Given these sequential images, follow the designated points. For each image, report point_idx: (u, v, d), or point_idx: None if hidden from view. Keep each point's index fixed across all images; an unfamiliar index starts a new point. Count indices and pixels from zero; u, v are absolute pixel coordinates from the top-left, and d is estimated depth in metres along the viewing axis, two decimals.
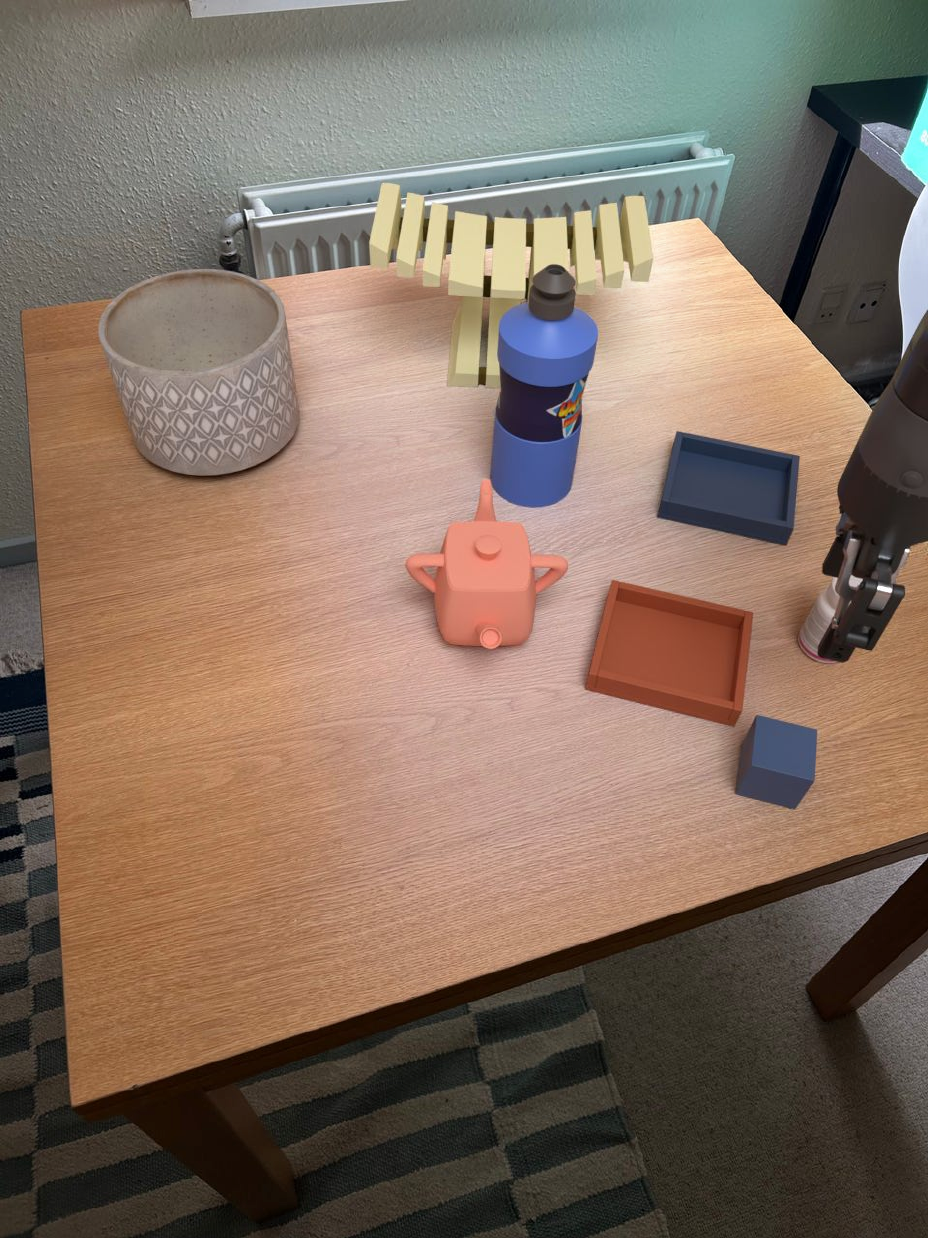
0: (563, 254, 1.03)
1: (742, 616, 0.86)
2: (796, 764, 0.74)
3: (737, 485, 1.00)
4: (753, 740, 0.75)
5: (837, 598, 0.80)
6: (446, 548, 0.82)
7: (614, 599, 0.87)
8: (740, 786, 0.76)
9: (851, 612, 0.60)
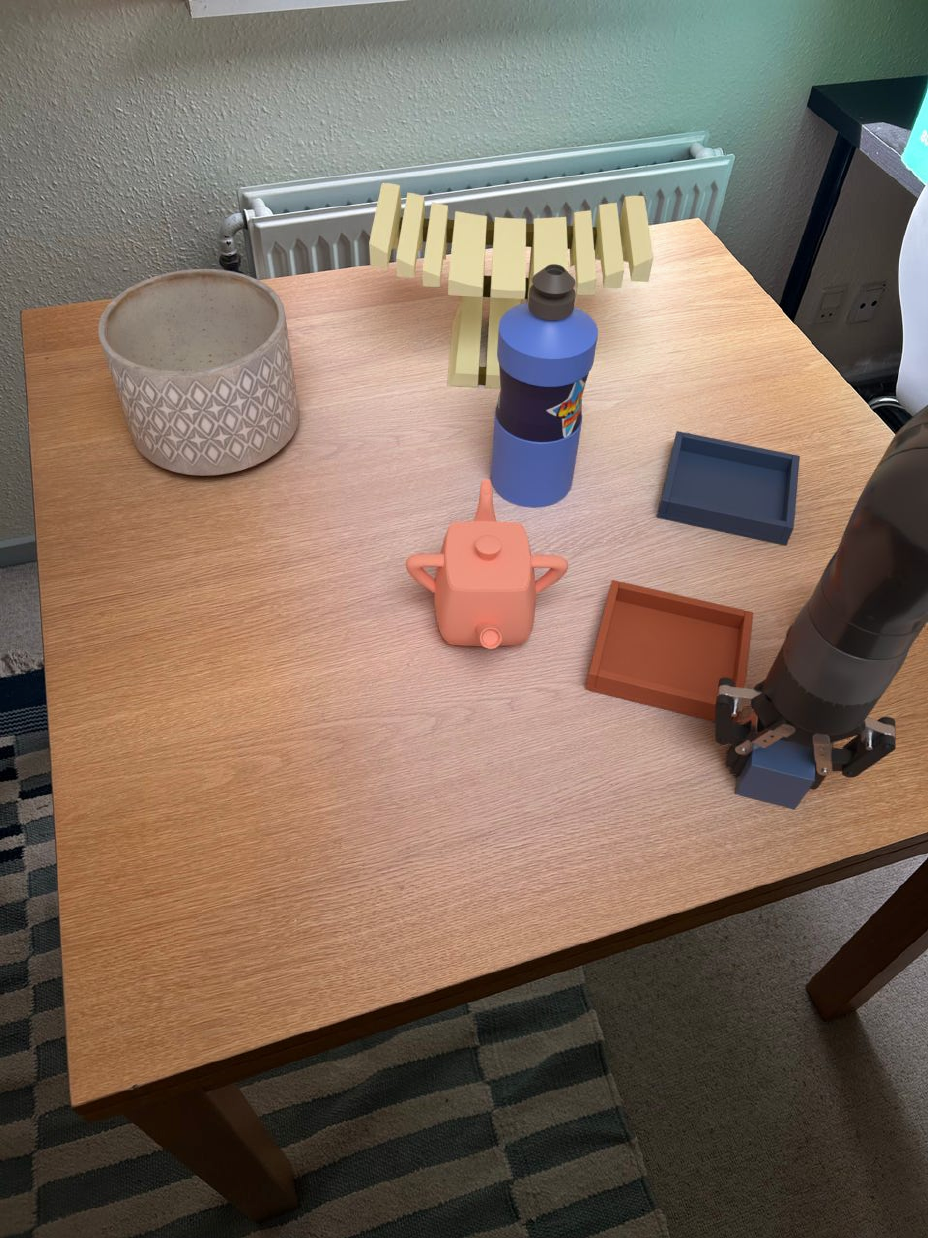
0: (563, 254, 1.03)
1: (742, 616, 0.86)
2: (796, 764, 0.74)
3: (737, 485, 1.00)
4: None
5: None
6: (446, 548, 0.82)
7: (614, 599, 0.87)
8: (740, 786, 0.76)
9: None
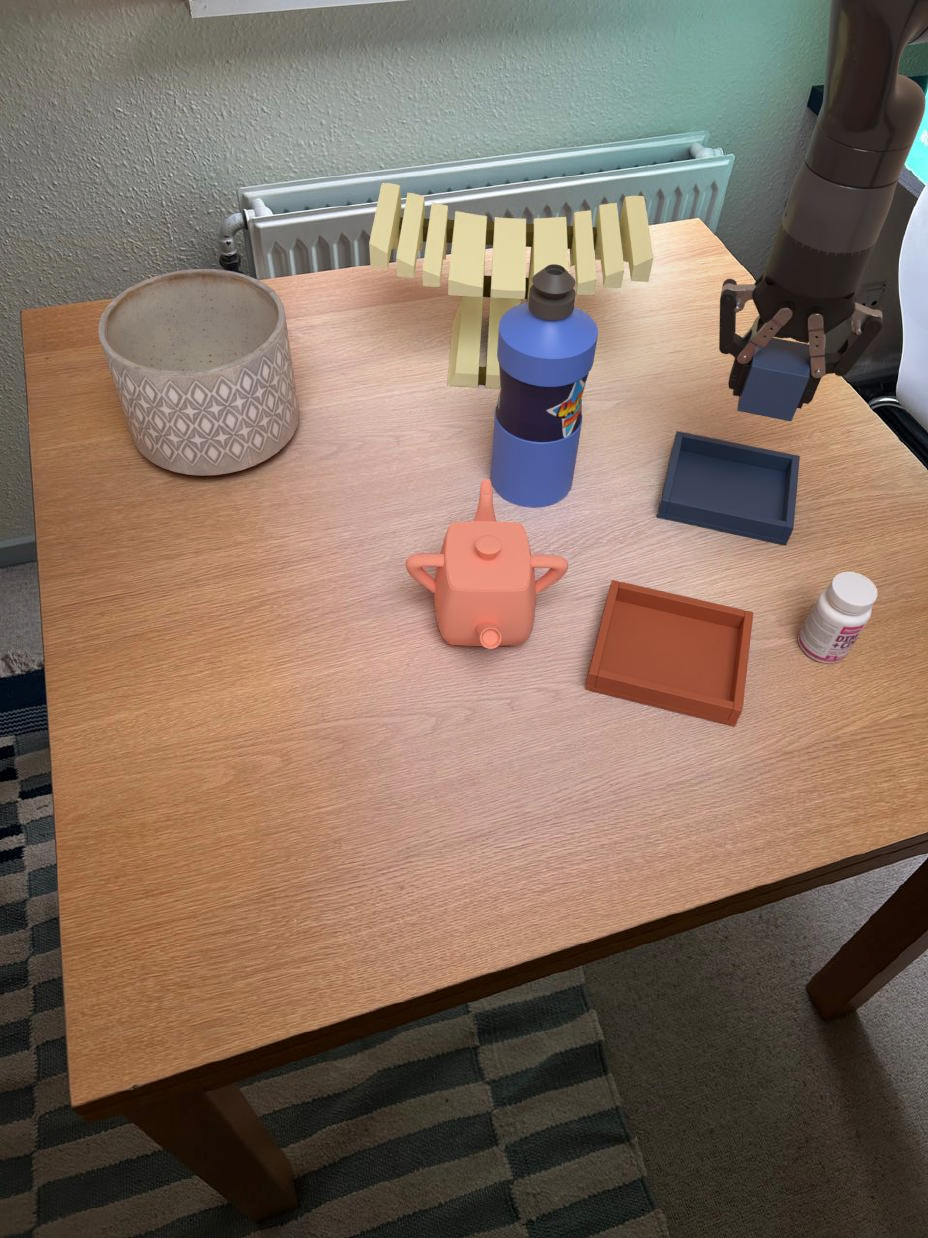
0: (563, 254, 1.03)
1: (742, 616, 0.86)
2: (792, 366, 0.81)
3: (737, 485, 1.00)
4: None
5: (837, 598, 0.80)
6: (446, 548, 0.82)
7: (614, 599, 0.87)
8: (741, 399, 0.84)
9: None
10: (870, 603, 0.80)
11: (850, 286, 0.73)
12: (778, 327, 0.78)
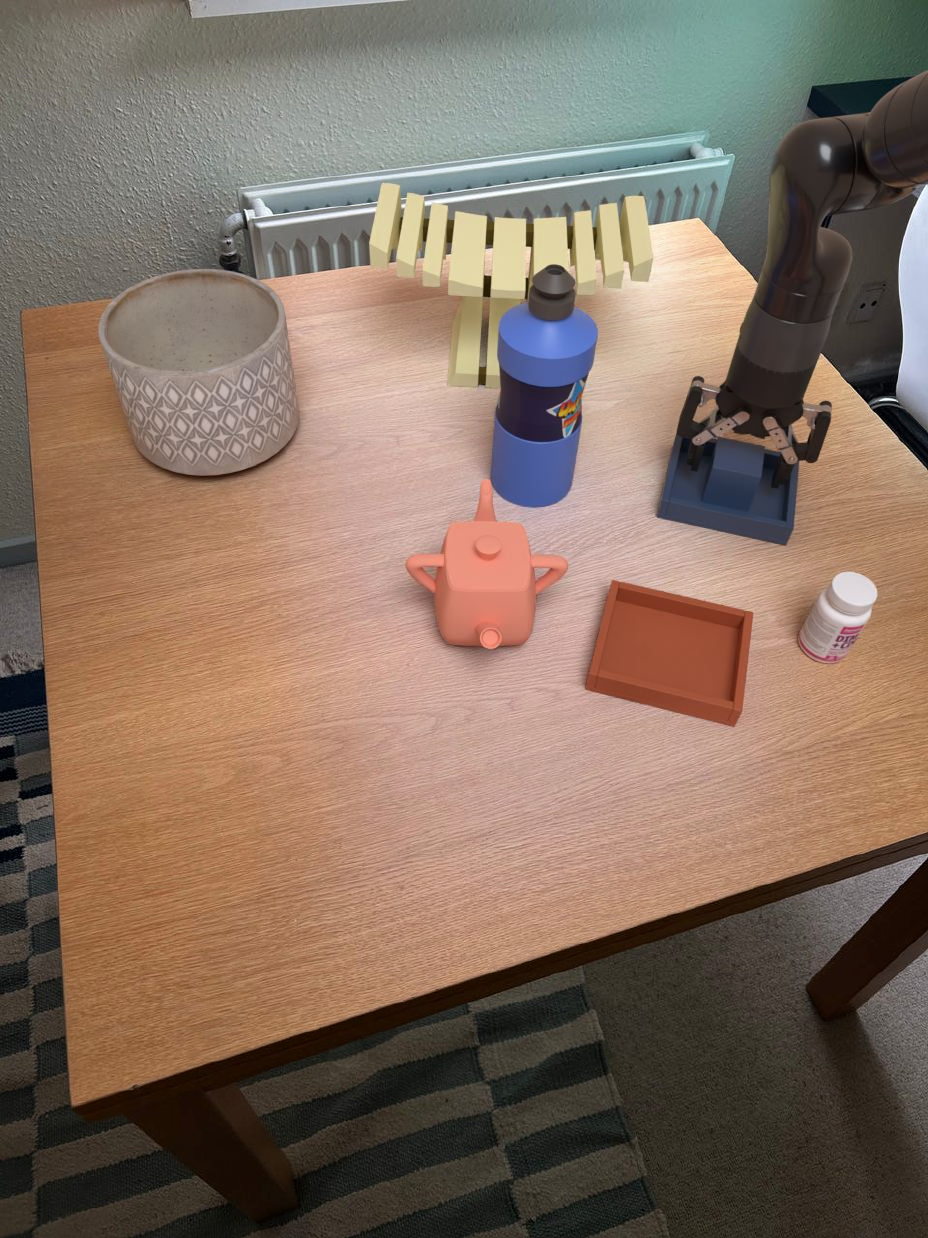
0: (563, 254, 1.03)
1: (742, 616, 0.86)
2: (747, 466, 0.95)
3: None
4: (714, 452, 0.96)
5: (837, 598, 0.80)
6: (446, 548, 0.82)
7: (614, 599, 0.87)
8: (705, 492, 0.97)
9: (687, 396, 0.93)
10: (870, 603, 0.80)
11: (796, 397, 0.86)
12: (734, 425, 0.91)
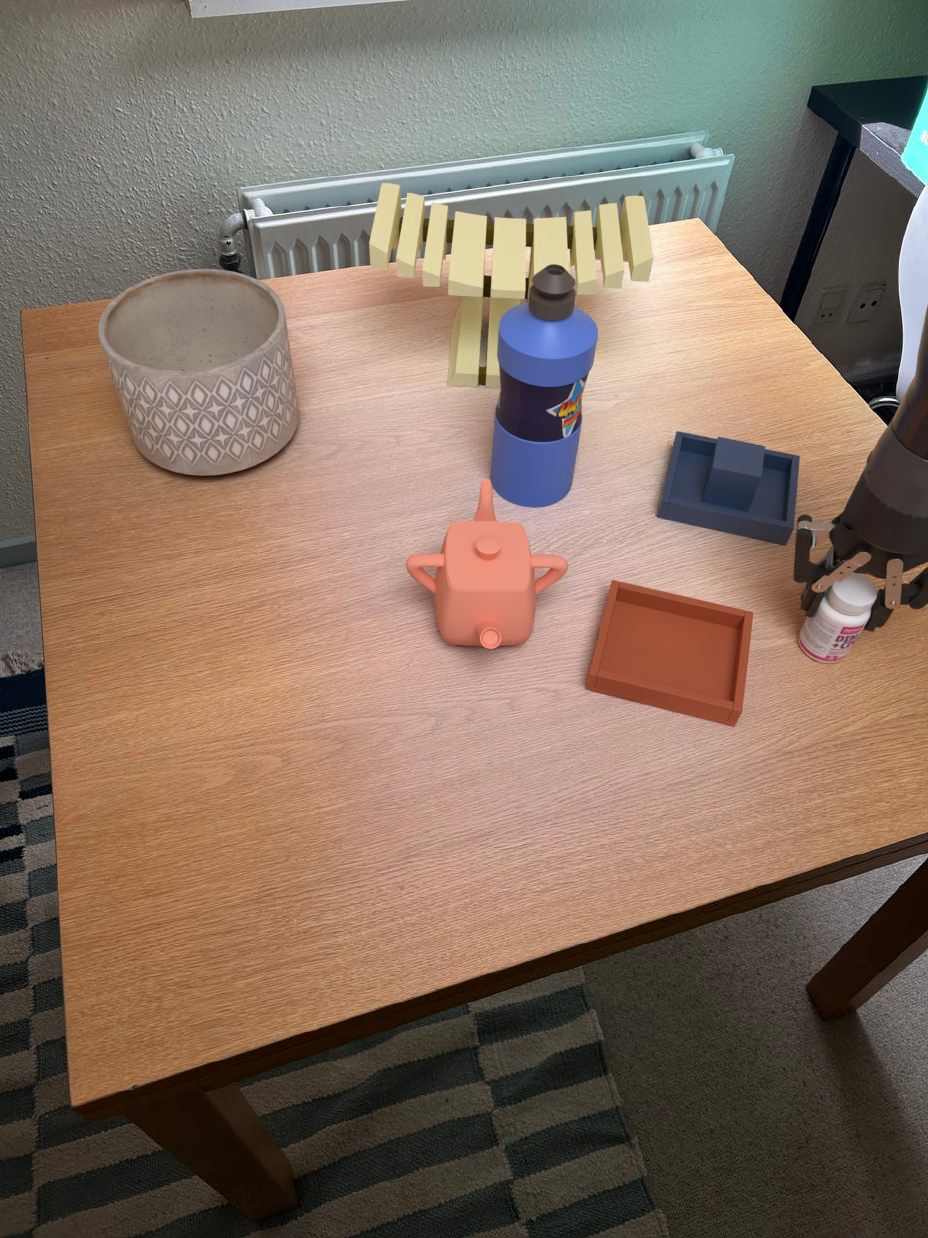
0: (563, 254, 1.03)
1: (742, 616, 0.86)
2: (747, 466, 0.95)
3: None
4: (714, 452, 0.96)
5: (837, 598, 0.80)
6: (446, 548, 0.82)
7: (614, 599, 0.87)
8: (705, 492, 0.97)
9: None
10: (870, 603, 0.80)
11: None
12: (856, 566, 0.77)
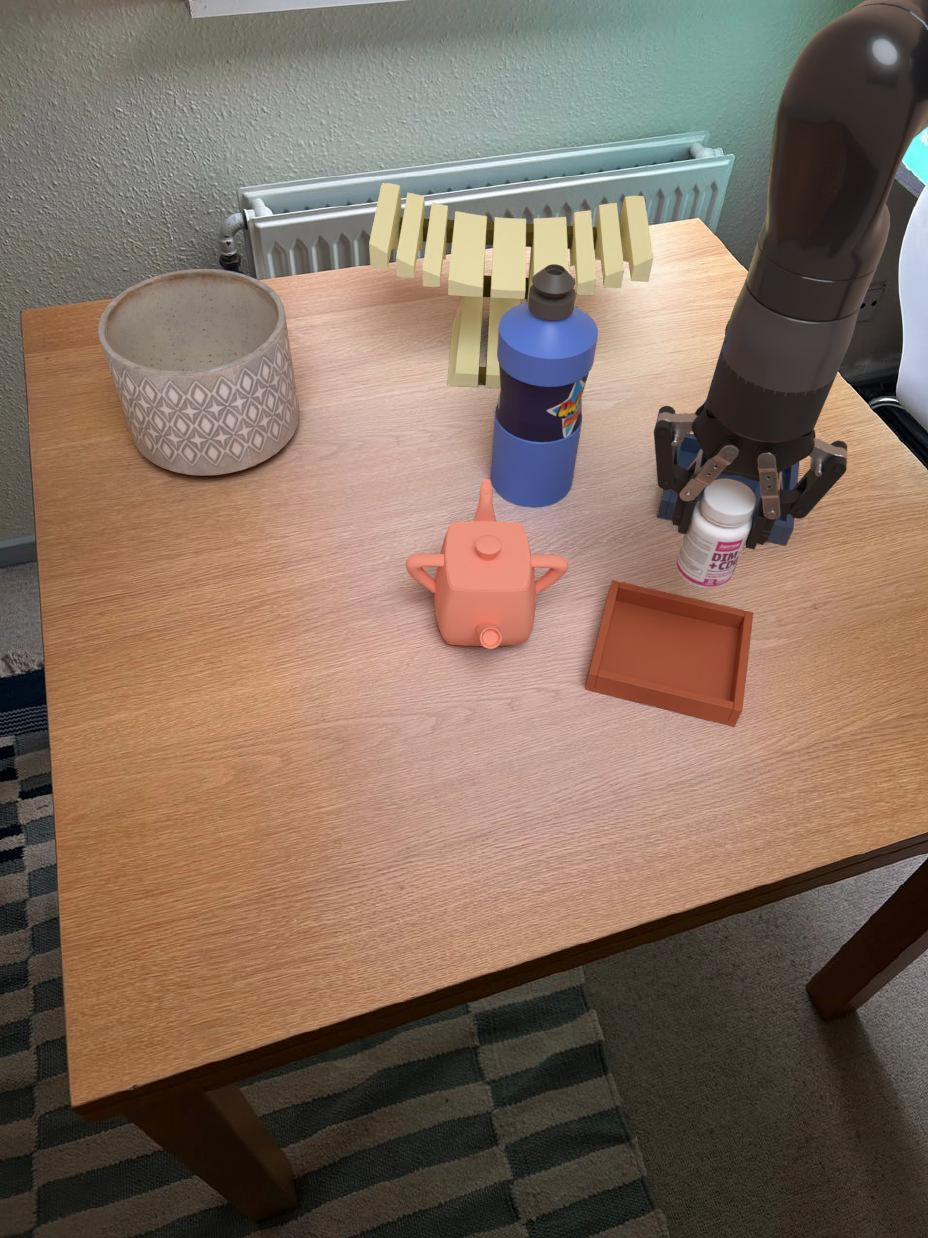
0: (563, 254, 1.03)
1: (742, 616, 0.86)
2: None
3: None
4: None
5: (709, 507, 0.69)
6: (446, 548, 0.82)
7: (614, 599, 0.87)
8: None
9: None
10: (746, 512, 0.69)
11: (805, 426, 0.60)
12: (724, 465, 0.65)
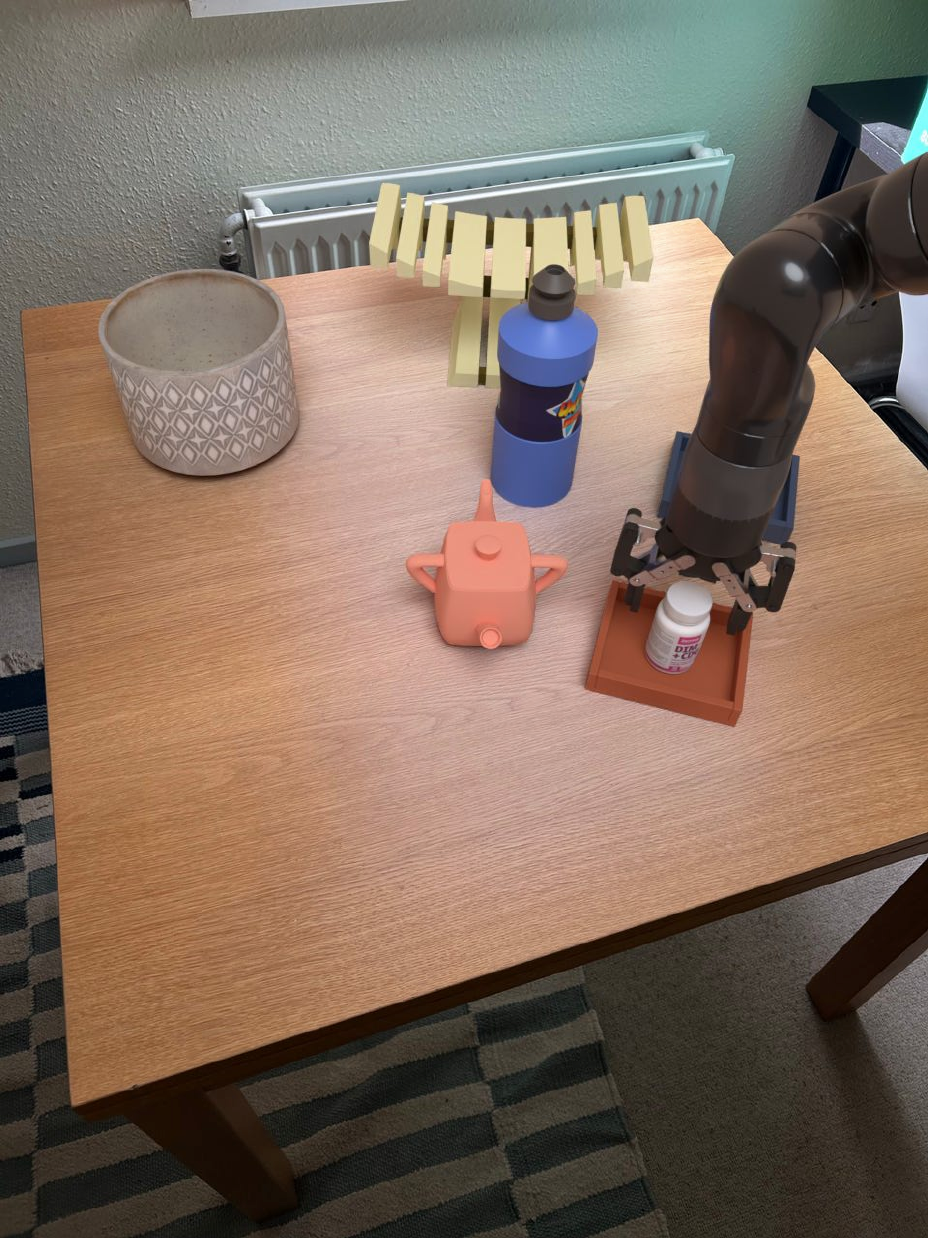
0: (563, 254, 1.03)
1: None
2: None
3: None
4: None
5: (671, 608, 0.78)
6: (446, 548, 0.82)
7: (614, 599, 0.87)
8: None
9: None
10: (703, 613, 0.78)
11: (751, 544, 0.69)
12: (678, 568, 0.74)
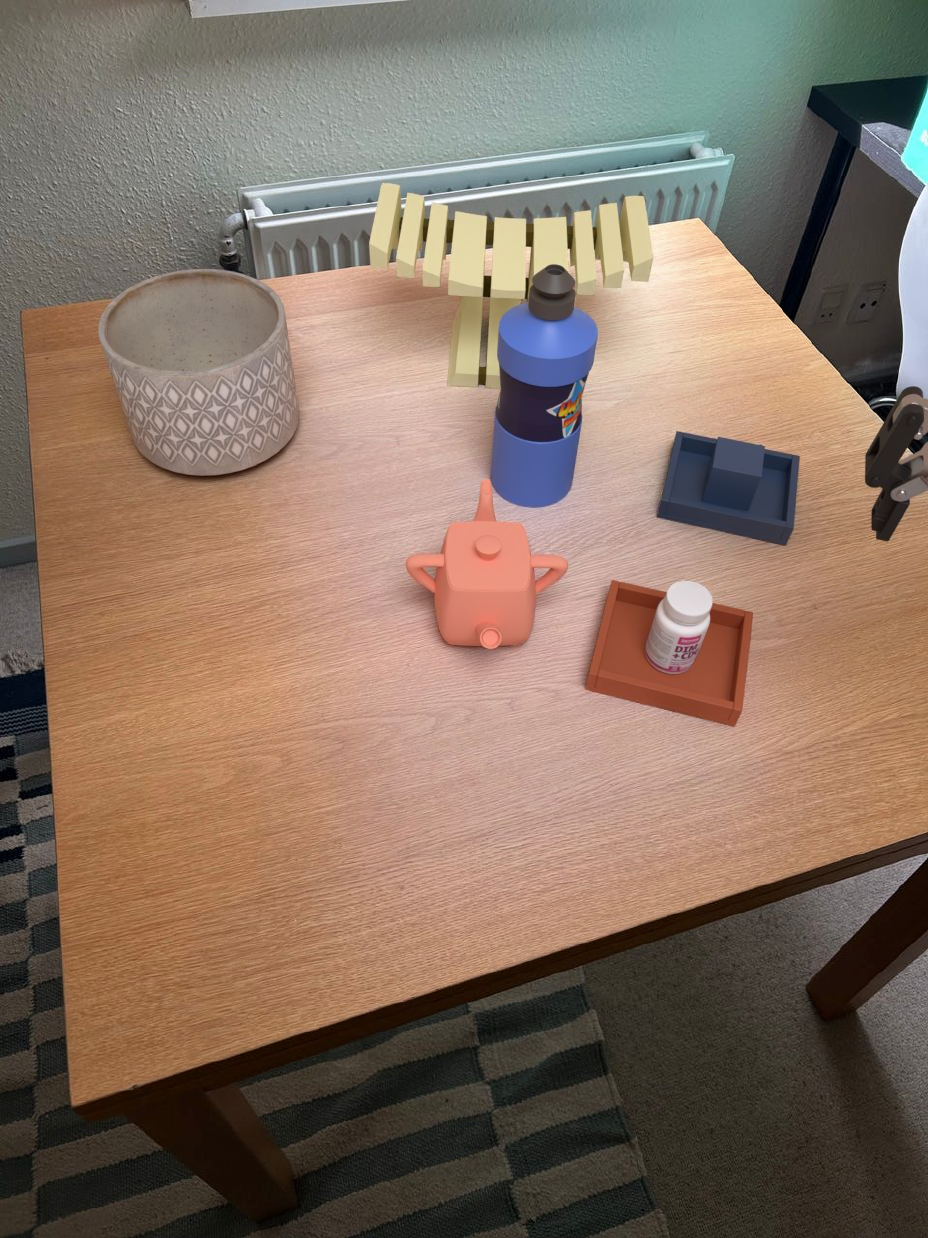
0: (563, 254, 1.03)
1: (742, 616, 0.86)
2: (747, 466, 0.95)
3: None
4: (714, 452, 0.96)
5: (671, 608, 0.78)
6: (446, 548, 0.82)
7: (614, 599, 0.87)
8: (705, 492, 0.97)
9: (887, 419, 0.55)
10: (703, 613, 0.78)
11: None
12: None
